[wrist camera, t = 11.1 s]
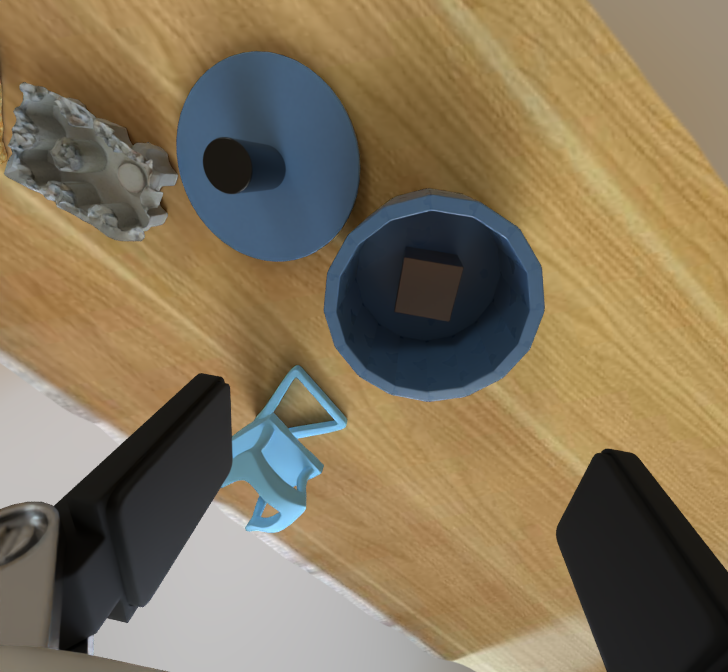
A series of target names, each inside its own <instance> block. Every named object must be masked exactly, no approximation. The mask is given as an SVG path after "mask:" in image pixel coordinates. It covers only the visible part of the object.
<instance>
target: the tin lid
mask: <svg viewBox="0 0 728 672" xmlns="http://www.w3.org/2000/svg"><path fill="white" fill-rule="evenodd" d="M177 159H178V167H179V171H180V175H181V180H182V183H183V185H184V188H185V191H186V194H187V196H188V198H189V200H190V202H191V204H192V206H193V207H194V209H195V211H196V212H197V214H198V216H199V217H200V218H201V220H202V221H203V222H204V223H205V225H206V226H207V227H208V228H209V229H210V230H211V231H212V232H213V233H214V234H215V235H216V236H217V237H218V238H219V239H221V240H222V241H223V242H224V243H226V244H227V245H229V246H230V247H232V248H233V249H235V250H237V251H239V252H241V253H243V254H245V255H248V256H250V257H253V258H257V259H261V260H266V261H275V262H276V261H290V260H296V259H299V258H302V257H306V256H308V255H310V254H312V253H314V252H316V251H318V250H319V249H321V248H322V247H324V246H325V245H326V244H327V243H329V242H330V241H331V240H332V239H333V238H334V237H335V236H336V235H337V234H338V232H339V231H340V230H341V229H342V227H343V226H344V224H345V223H346V221H347V219H348V218H349V215H350V213H351V211H352V209H353V207H354V203H355V200H356V197H357V193H358V188H359V182H360V154H359V148H358V142H357V138H356V135H355V131H354V128H353V125H352V123H351V120H350V118H349V116H348V113H347V112H346V110H345V108H344V106H343V105H342V103H341V101H340V100H339V98H338V97H337V96H336V94H335V93H334V92H333V90H332V89H331V88H330V87H329V86H328V85H327V84H326V83H325V82H324V81H323V80H322V78H321V77H320V76H318V75H317V74H316V73H314V72H313V71H312V70H311V69H309V68H308V67H306V66H305V65H303V64H301V63H300V62H298V61H296V60H294V59H291V58H289V57H286V56H284V55H280V54H276V53H271V52H260V51H254V52H245V53H240V54H237V55H233V56H230V57H228V58H226V59H224V60H222V61H220V62H218V63H217V64H215V65H214V66H213V67H211V68H210V69H208V70H207V71H206V72H205V73H204V74H203V75H202V76H201V77H200V78H199V80H198V81H197V82H196V84H195V85H194V87H193V88H192V89H191V91H190V93H189V95H188V97H187V99H186V101H185V103H184V106H183V109H182V111H181V115H180V119H179V124H178V130H177Z"/></svg>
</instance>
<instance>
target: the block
mask: <svg viewBox="0 0 728 672" xmlns="http://www.w3.org/2000/svg"><path fill="white" fill-rule="evenodd" d="M463 269H464V267H463V265H462V263H461V261H460V259H459V257H458V255H456V254H450V253H444V252H438V251H432V250H426V249H420V248H414V247H408V246H406V248H405V253H404V259H403V264H402V269H401V275H400V280H399V285H398V291H397V296H396V303H395V309H394V312H397V313H403V314H408V315H414V316H419V317H425V318H431V319H436V320H442V321H447V322H449V321H450V318H451V314H452V311H453V307H454V303H455V299H456V295H457V291H458V288H459V284H460V280H461V276H462V272H463Z"/></svg>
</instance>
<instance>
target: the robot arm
mask: <svg viewBox="0 0 728 672" xmlns="http://www.w3.org/2000/svg"><path fill="white" fill-rule="evenodd" d="M232 462H233V456H232V428H231V399H230V386H229V384H226V383H225V382H224V379H223V378H222V377H219V376H214V375H208V374H203V373H200V374H198V375H196V376H195V377H194V378H193V379H192V380H191V381H190V382H189V383H188V384H187V385H186V386H184V387H183V388H182V389H181V390H180V391H179V392H178V393H177V394H176V395H175V396H174V397H172V398H171V399H170V400H169V401H168V402H167V403H166V404H165V405H164V406H163V407H162V408H160V409H159V410H158V411H157V412H156V413H155V414H154V415H153V416H152V417H151V418H150V419H148V420H147V421H146V422H145V423H144V424H143V425H142V426H141V427H140V428H138V429H137V430H136V431H135V432H134V433H133V434H132V435H131V436H130V437H129V438H128V439H126V440H125V441H124V442H123V443H122V444H121V445H120V446H119V447H118V448H117V449H116V450H114V451H113V452H112V453H111V454H110V455H109V456H108V457H107V458H106V459H105V460H104V461H102V462H101V463H100V464H99V465H98V466H97V467H96V468H95V469H94V470H93V471H92V472H91V473H89V474H88V475H87V476H86V477H85V478H84V479H83V480H82V481H81V482H80V483H78V484H77V485H76V486H75V487H74V488H73V489H72V490H71V491H70V492H69V493H68V494H67V495H65V496H64V497H63V498H62V499H61V500H60V501H59V502H58V503H57V504H55V505H54V506H52V505H50V504H47V503H44V502H24V503H19V504H14V505H11V506H8V507H5V508H2V509H0V672H168V671H163V670H158V669H154V668H149V667H144V666H139V665H135V664H130V663H125V662H121V661H116V660H112V659H107V658H102V657H97V656H93V655H94V654H93V653H94V634H96V633H97V631H98V630H99V629H100V627H101V626H102V624H103V623H104V621H105V620H106V619H107V618H109V619H113V620H117V621H121V622H126V623H128V622H129V620H130V619H131V617H132V616H133V614H134V612H135V611H136V609H137V608H138V606H139V607H144V606H145V605H146V604H147V603H148V602H149V601H150V600H151V598H152V596H153V595H154V593H155V592H156V590H157V589H158V587H159V585H160V584H161V582H162V581H163V579H164V577H165V576H166V574H167V573H168V571H169V569H170V568H171V566H172V565H173V563H174V561H175V560H176V558H177V557H178V555H179V553H180V552H181V550H182V549H183V547H184V545H185V544H186V542H187V541H188V539H189V537H190V536H191V534H192V533H193V531H194V529H195V528H196V526H197V525H198V523H199V521H200V520H201V518H202V517H203V515H204V513H205V512H206V510H207V508H208V507H209V505H210V504H211V502H212V501H213V499H214V497H215V496H216V494H217V493H218V491H219V489H220V488H221V486H222V485H223V483H224V481H225V480H226V478H227V477H228V475H229V473H230V470H231V467H232ZM556 538H557V542H558V545H559V548H560V550H561V553H562V555H563V558H564V561H565V563H566V566H567V568H568V571H569V574H570V576H571V579H572V582H573V584H574V587H575V589H576V592H577V595H578V597H579V600H580V602H581V605H582V608H583V610H584V613H585V616H586V618H587V621H588V623H589V626H590V629H591V631H592V634H593V636H594V639H595V642H596V644H597V647H598V649H599V652H600V655H601V657H602V660H603V663H604V665H605V668H606V670H607V672H728V572H727V570H726V569H725V568H724V566H723V565H722V564H721V563H720V561H719V560H718V559H717V557H716V556H715V555H714V554H713V552H712V551H711V550H710V549H709V547H708V546H707V545H706V543H705V542H704V541H703V540H702V538H701V537H700V536H699V534H698V533H697V532H696V531H695V529H694V528H693V527H692V526H691V524H690V523H689V522H688V520H687V519H686V518H685V517H684V515H683V514H682V513H681V511H680V510H679V509H678V508H677V506H676V505H675V504H674V502H673V501H672V500H671V499H670V497H669V496H668V495H667V494H666V492H665V491H664V490H663V488H662V487H661V486H660V485H659V483H658V482H657V481H656V479H655V478H654V477H653V476H652V474H651V473H650V472H649V471H648V469H647V468H646V467H645V465H644V464H643V463H642V462H641V460H640V459H639V458H638V457H637V456H636V455H635V454H633V453H630V452H624V451H619V450H613V449H604V450H603V451H602V452H601V453H597V454H595V455H594V457H593V458H592V460H591V462H590V464H589V466H588V468H587V470H586V472H585V474H584V476H583V477H582V479H581V481H580V483H579V485H578V487H577V489H576V491H575V493H574V495H573V497H572V499H571V501H570V503H569V504H568V506H567V508H566V510H565V512H564V514H563V516H562V518H561V520H560V522H559V524H558V526H557V530H556Z"/></svg>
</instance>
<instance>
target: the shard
mask: <svg viewBox="0 0 728 672" xmlns="http://www.w3.org/2000/svg"><path fill="white" fill-rule="evenodd" d="M1 108H2V86H1V79H0V163H3V162H6V161H7V152H6V150H5V146H4V143H3V141H2V137H3V122H2V114H1Z"/></svg>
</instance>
